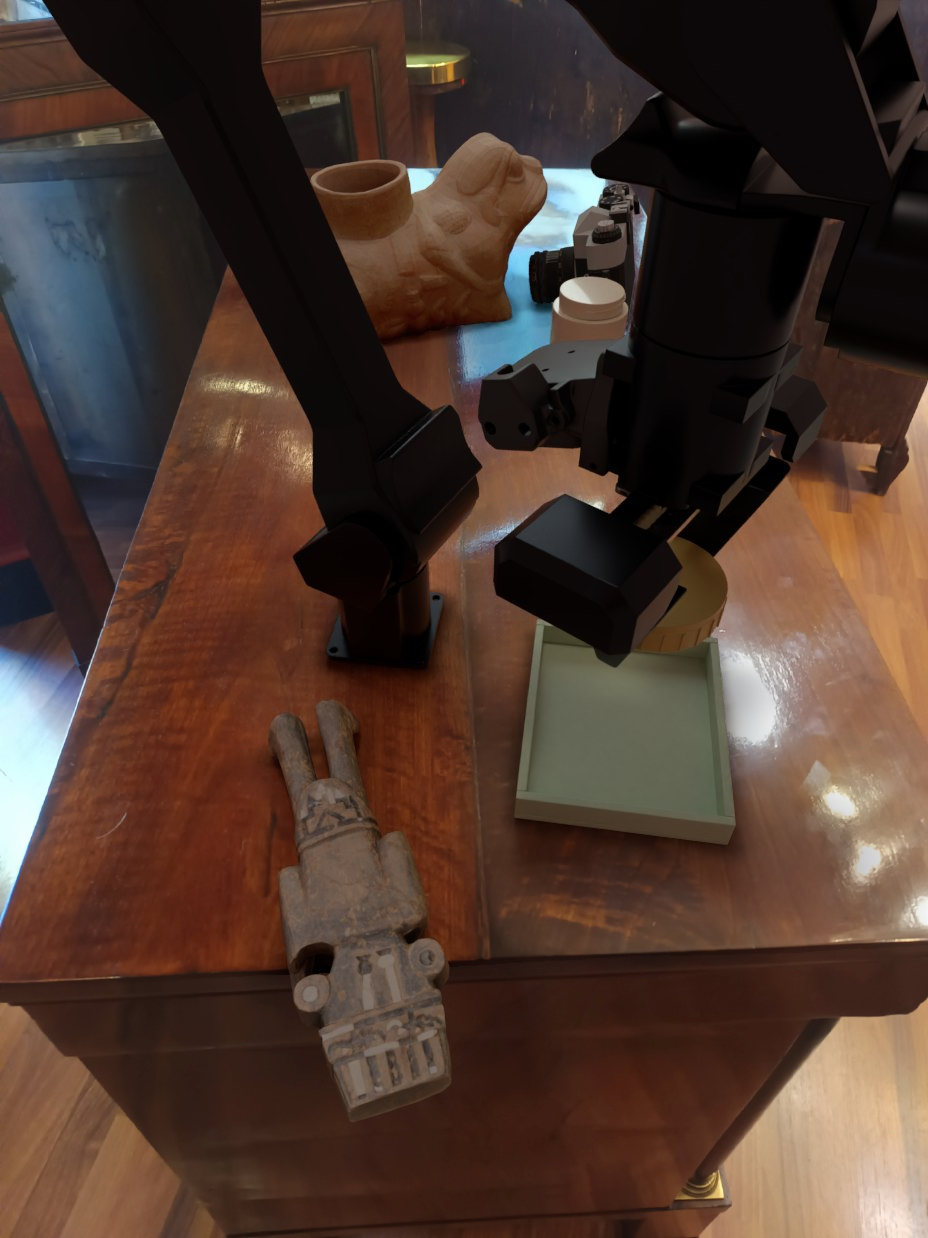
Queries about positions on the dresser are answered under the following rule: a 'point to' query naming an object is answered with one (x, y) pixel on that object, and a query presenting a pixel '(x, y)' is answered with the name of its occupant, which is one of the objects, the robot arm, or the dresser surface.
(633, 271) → the camera
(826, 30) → the robot arm
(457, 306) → the ceramic vessel
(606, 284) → the jar
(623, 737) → the tray
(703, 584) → the lid
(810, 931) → the dresser surface
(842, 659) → the dresser surface
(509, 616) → the dresser surface
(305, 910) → the figurine
